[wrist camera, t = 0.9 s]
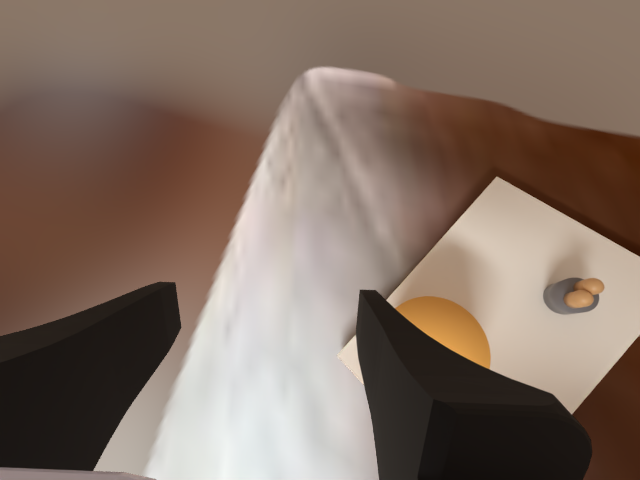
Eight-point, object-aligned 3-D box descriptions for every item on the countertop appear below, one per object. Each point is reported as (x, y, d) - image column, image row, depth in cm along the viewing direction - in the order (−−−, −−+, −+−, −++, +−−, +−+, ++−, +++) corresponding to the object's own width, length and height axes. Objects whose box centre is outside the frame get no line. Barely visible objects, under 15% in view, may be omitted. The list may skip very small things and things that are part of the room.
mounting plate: (664, 285, 19) (745, 270, 14) (479, 502, 18) (503, 558, 14) (491, 185, 24) (511, 149, 19) (340, 354, 23) (324, 359, 18)
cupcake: (490, 345, 19) (515, 348, 15) (434, 409, 19) (442, 432, 15) (420, 288, 21) (423, 276, 17) (369, 345, 21) (359, 348, 17)
